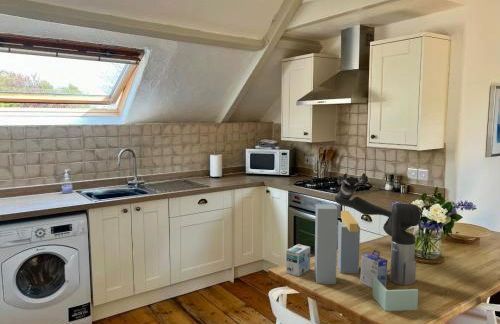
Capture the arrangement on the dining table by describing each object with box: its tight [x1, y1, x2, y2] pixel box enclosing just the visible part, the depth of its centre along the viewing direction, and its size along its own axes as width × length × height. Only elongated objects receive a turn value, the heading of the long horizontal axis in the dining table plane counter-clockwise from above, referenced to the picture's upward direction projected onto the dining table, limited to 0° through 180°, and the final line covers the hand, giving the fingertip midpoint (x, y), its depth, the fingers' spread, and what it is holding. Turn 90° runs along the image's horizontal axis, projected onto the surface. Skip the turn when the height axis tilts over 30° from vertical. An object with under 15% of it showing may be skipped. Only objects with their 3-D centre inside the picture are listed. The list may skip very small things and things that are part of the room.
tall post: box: [314, 203, 339, 285], centre depth 169 cm, size 8×8×32 cm
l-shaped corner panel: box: [372, 277, 419, 312], centre depth 149 cm, size 12×12×8 cm
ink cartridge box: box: [359, 249, 388, 290], centre depth 164 cm, size 10×6×14 cm, turn 28°
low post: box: [337, 221, 361, 274], centre depth 180 cm, size 8×8×21 cm
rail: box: [340, 210, 359, 232], centre depth 179 cm, size 22×4×4 cm, turn 177°
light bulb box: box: [285, 243, 311, 277], centre depth 179 cm, size 11×7×11 cm, turn 143°
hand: (355, 175), depth 192 cm, fingers open, 8 cm apart
